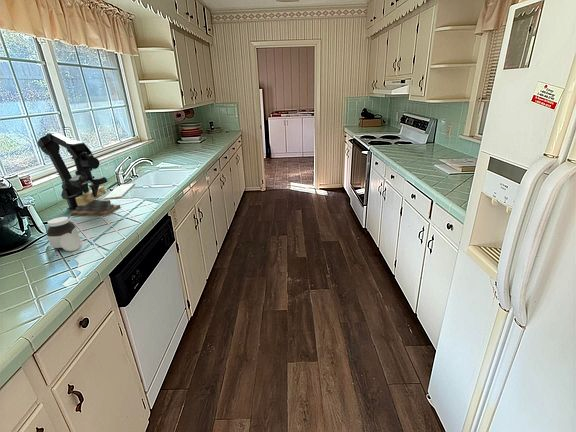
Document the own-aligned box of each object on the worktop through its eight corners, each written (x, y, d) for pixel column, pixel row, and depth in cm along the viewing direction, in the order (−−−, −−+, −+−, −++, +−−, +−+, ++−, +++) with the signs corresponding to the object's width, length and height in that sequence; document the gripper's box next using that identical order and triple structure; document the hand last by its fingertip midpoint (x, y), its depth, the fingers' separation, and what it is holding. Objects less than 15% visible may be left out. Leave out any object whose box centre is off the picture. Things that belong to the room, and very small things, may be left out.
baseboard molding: (100, 201, 188) (121, 198, 189) (98, 196, 187) (120, 194, 188) (116, 187, 216) (135, 185, 218) (115, 183, 215) (134, 181, 217)
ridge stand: (71, 215, 164) (67, 204, 162) (87, 207, 175) (84, 197, 173) (105, 215, 161) (102, 204, 159) (120, 207, 172) (117, 196, 170)
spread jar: (66, 241, 133) (57, 215, 129) (92, 240, 133) (84, 214, 128) (45, 255, 122) (34, 227, 118) (73, 253, 121) (63, 226, 117)
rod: (99, 193, 175) (97, 186, 173) (105, 193, 175) (103, 186, 173) (77, 205, 156) (75, 198, 155) (84, 205, 156) (82, 197, 155)
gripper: (53, 172, 153) (64, 202, 159) (88, 171, 150) (97, 202, 156) (71, 166, 164) (80, 195, 169) (103, 165, 161) (111, 195, 166)
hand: (91, 197), depth 165 cm, fingers closed on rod, 4 cm apart
